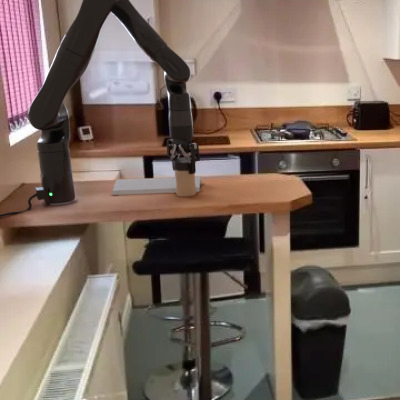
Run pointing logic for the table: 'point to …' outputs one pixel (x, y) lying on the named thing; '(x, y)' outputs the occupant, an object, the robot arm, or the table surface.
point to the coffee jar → (185, 183)
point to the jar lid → (181, 164)
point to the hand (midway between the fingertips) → (184, 172)
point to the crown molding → (148, 186)
